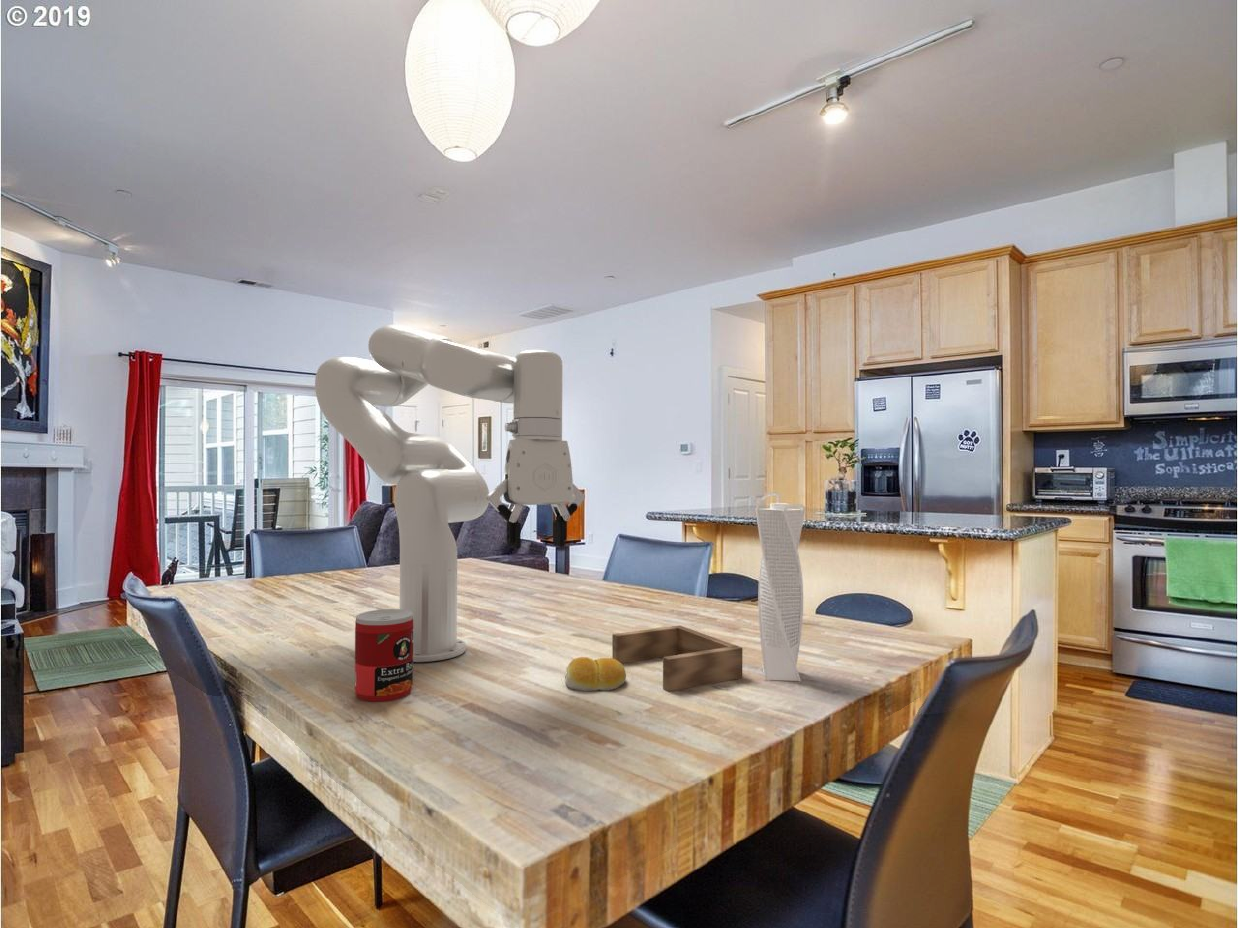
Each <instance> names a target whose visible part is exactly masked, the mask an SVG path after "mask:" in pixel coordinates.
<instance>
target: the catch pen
mask: <svg viewBox="0 0 1238 928" xmlns="http://www.w3.org/2000/svg"><path fill="white" fill-rule="evenodd" d="M611 639H612V642H611V643H612V654H611V655H612V659H615V660H617V661H619V662H620V663H621V664H624V663H632V662H637V661H643V660H649V659H650V660H651V659H657V658H662V689H663V690H664V691H666V692H672V691H677V690H678V691H679V690H683V689H690V688H694V687H698V686H705V685H710V684H715V683H721V682H726V681H732V680H736V679H737V680H738V679H742V678H743V647H741V646H738V645H735V644H733V643H730V642H727V641H725V640H722V639H719V638H716V637H713V636H710V635H708V634H705V633H703V632H699V631H696V630H693V629H691V628H688V627H686V626H684V625H683V626H682V625H673V626H667V627H666V626H665V627H658V628H657V627H656V628H649V629H643V630H633V631H628V632H620V633H619V632H618V633H612V638H611ZM676 654H677V655H676Z"/></svg>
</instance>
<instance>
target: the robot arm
mask: <svg viewBox="0 0 1238 928" xmlns="http://www.w3.org/2000/svg"><path fill="white" fill-rule="evenodd" d="M367 344H368V346H367V347H368V352H369V355H370V357H371V359H372V360H371V359H366V358H360V357H355V356H338V357H337V356H336V357H332V358H328V359H326V360H325V361H324V362H323V363H321V364H320V366H319V367H318V369H317V371H316V374H315V380H314V391H315V397H316V399H317V402H318V406H319V409H320V411H321V412H322V413H321V414H323V416H324V418H325V419H326V420H327V421H328V423H329V424H330V425H331V426H332V427H333V428H334V429H335V430H336V431H337V432H338V433H339V434H340V435H341V436H342V437H343V438H344V439H345V440H346V441H347V442H348V443H350V445H351V446H352V447H353V448H354V450H355V451H356V452H357V454H358V455H359V456H360V457H361V459H362V460H363V461H364V462H365V463H366V464H367V465H368V467H370V469H371V470H372V471H373V472H374V473H375V475H377V477H378V479H380V480H382V482H384V483H386V484H389V485H395V489H394V492H393V500H394V501H393V502H394V503H393V504H394V508H395V509H394V510H395V514H396V519H397V524H398V525H397V526H398V533H399V609H401V610H408V611H411V612H412V613H413V624H414V627H413V663H429V662H437V661H444V660H449V659H452V658H456V657H458V656H461V655H462V654H464V653H465V651H466V650H467V648H466V647H467V644H466V642H465V641H464V640H462V639H459V638H458V626H457V625H458V623H457V622H458V548H457V542H456V539H455V537H454V534H453V532H452V529H451V528H450V526H449V524H450V523H451V524H452V523H463V522H469V521H474V520H476V519H479V517H481V516H482V515H483V514H484V513H485V512H486V511H487V509H488V507H489V504H490V505H491V507H493V508H494V509H495V512H497V513H498V514H499V515H500V516H501V518H503V520H504V521H505V522H506V542H507V544H509V545H508V546H509V548H510V549H513V550H520V549H521V545H522V544H521V543H522V542H521V536H522V535H521V534H522V532H521V528H522V526H521V523H520V522H519V517H520V514H521V512H522V510H523V508H524V506H526V505H527V506H539V505H540V506H541V505H545V506H546V505H547V506H548V505H550V506H551V508H552V511H553V513H554V515H555V519H554V520H552V544H553V546H556V547H561V548H563V547H565V546H566V545H565V544H566V543H565V542H566V541H567V539H568V537H567V536H568V521H570V519H571V517H572V516H573V514H574V513H575V512H576V511H577V510H578V507H579V506H580V505H581V504H582V503H583V501H585V499H586V495H585V494H584V493H583V492H582V491H581V490H580V489H579V488H578V487H577V486H576V485H575V484H574V480H573V470H572V469H573V468H572V459H571V454H570V447H569V442H568V440H563V360H562V358H561V356H560V355H559V354H558V353H557V352H556V353H555V352H553V351H550V350H543V349H542V350H540V349H529V350H524V351H520V352H519V353H517V354H516V356H515V357H513V356H508V355H504V354H502V353H501V354H500V353H497V352H492V351H487V350H483V349H479V348H475V347H470V346H467V345H466V346H465V345H463V344H459V343H454V342H453V341H452V339H450V338H449V337H447V336H443V335H438V334H435V333H430V332H427V331H422V330H420V329H419V330H418V329H415V328H412V327H408V326H404V325H399V324H389V325H388V324H387V325H383V326H380V327H378V328H377V329H376V330H375V331H374V332H373V333H371V335H370V337H369V339H368V343H367ZM428 385H429V386H432V387H434V388H437V389H440V390H443V391H446V392H449V393H452V394H455V395H460V396H462V397H466V398H470V399H477V400H484V401H493V402H495V403H497V402H498V403H502V404H503V403H504V404H513V419H512V420H511V422H505V423H504V431H505V432H509V433H511V436H512V437H513V439H509V440H508V444H507V450H506V456H505V461H504V462H505V463H504V472H503V481H501V482H500V483H499V485H497V486H496V487H495V488H494V489H493V490H492V491H491V492H490V490H489V487H488V484H487V481H485V479H484V477H483V476H482V475H481V473H480V472H479V471H478V470H477V469H476V468H475V467H474V466H473V465H472V464H471V463H470V462H469V461H468V460H467V459H466V457H465V456H464V455H463V454H462V453H461V452H460V451H459V450H458V449H457V448H456V447H455V446H454V445H453V444H451V443H450V442H449V441H447V440H446V439H444V438H443V437H439V436H436V435H430V434H418V433H412V432H409V431H408V432H407V431H405V430H404V429H402V428H401V427H400V426H399V425H398V424H397V423H396V422H395V421H394V420H393V419H392V418H391V417H390V416H389V415H388V414H387V413H386V412H385V411H383V410H382V409H380V408H378V407H377V406H381V407H397V406H401V405H402V404H404V403H406V402H407V401H409V400H410V399H411V398H413V397H414V396H415V395H417V394H418V393H419V392H420V391H421V390H423V389H424V388H426V387H427V386H428ZM502 496H503V499H504V501H505V502H506V503H508V504H509V505H508V507H507V506H506V505H505V504H504V503H503V502H502V500H501V497H502Z"/></svg>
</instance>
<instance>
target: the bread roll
mask: <svg viewBox="0 0 1238 928" xmlns="http://www.w3.org/2000/svg"><path fill="white" fill-rule="evenodd" d="M565 670H566V673H565V676H564V680H565V681H564V682H565V685H566V686H567V688H569V689H571V690H577V691H582V692H594V691H595V692H596V691H598V690H600V691H612V690H613V689H614V690H615V689H617V688H619V687H621V686H622V685H623V684H624V683H625V681H626V680H627V672H626V669H625V667H624V665H623V663H620V662H619V661H617V660H615V659H612V658H611V657H601V658H596V659H592V658H590V657H585V656H584V657H583V656H582V657H581V656H580V657H576V658H573V659H572V660H570V662H569V664H568V665H567V667H566V669H565ZM614 690H613V691H614Z"/></svg>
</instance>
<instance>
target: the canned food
mask: <svg viewBox="0 0 1238 928" xmlns="http://www.w3.org/2000/svg"><path fill="white" fill-rule="evenodd" d="M354 625H355V629H354V691H355V695H356V697H357V698H358V699H359V700H362V701H365V702H373V703H380V702H389V701H394V700H398V699H402V698H405V697H406V696H408V695H409V694H410V693H411V691H412V689H413V683H414V682H413V681H414V679H413V678H414V673H413V672H414V662H413V627H414V624H413V613H412V612H411V611H408V610H401V609H400V608H384V609H383V608H382V609H374V610H368V611H364V612H360V613H358V614H357V615H356V616H355V624H354Z"/></svg>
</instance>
